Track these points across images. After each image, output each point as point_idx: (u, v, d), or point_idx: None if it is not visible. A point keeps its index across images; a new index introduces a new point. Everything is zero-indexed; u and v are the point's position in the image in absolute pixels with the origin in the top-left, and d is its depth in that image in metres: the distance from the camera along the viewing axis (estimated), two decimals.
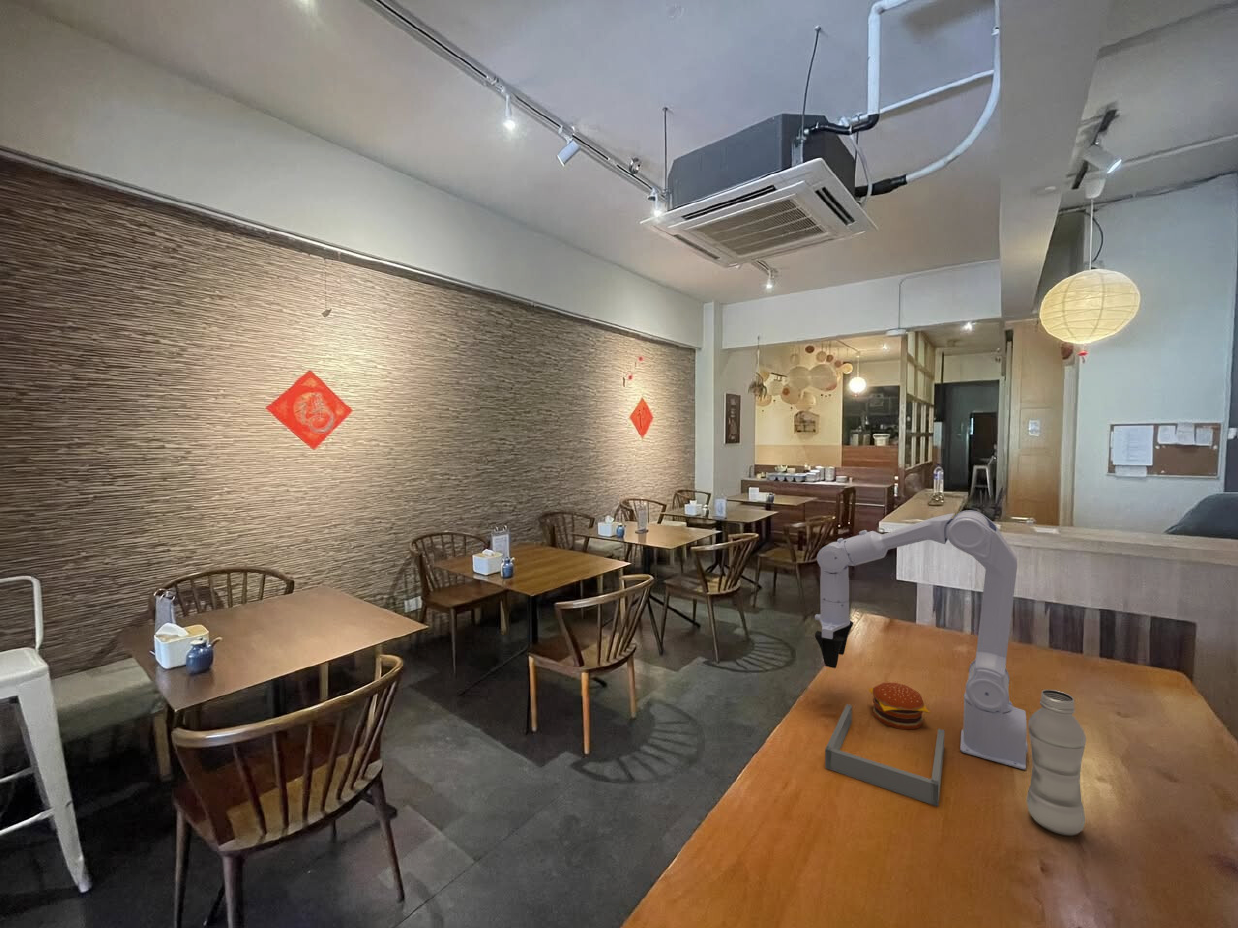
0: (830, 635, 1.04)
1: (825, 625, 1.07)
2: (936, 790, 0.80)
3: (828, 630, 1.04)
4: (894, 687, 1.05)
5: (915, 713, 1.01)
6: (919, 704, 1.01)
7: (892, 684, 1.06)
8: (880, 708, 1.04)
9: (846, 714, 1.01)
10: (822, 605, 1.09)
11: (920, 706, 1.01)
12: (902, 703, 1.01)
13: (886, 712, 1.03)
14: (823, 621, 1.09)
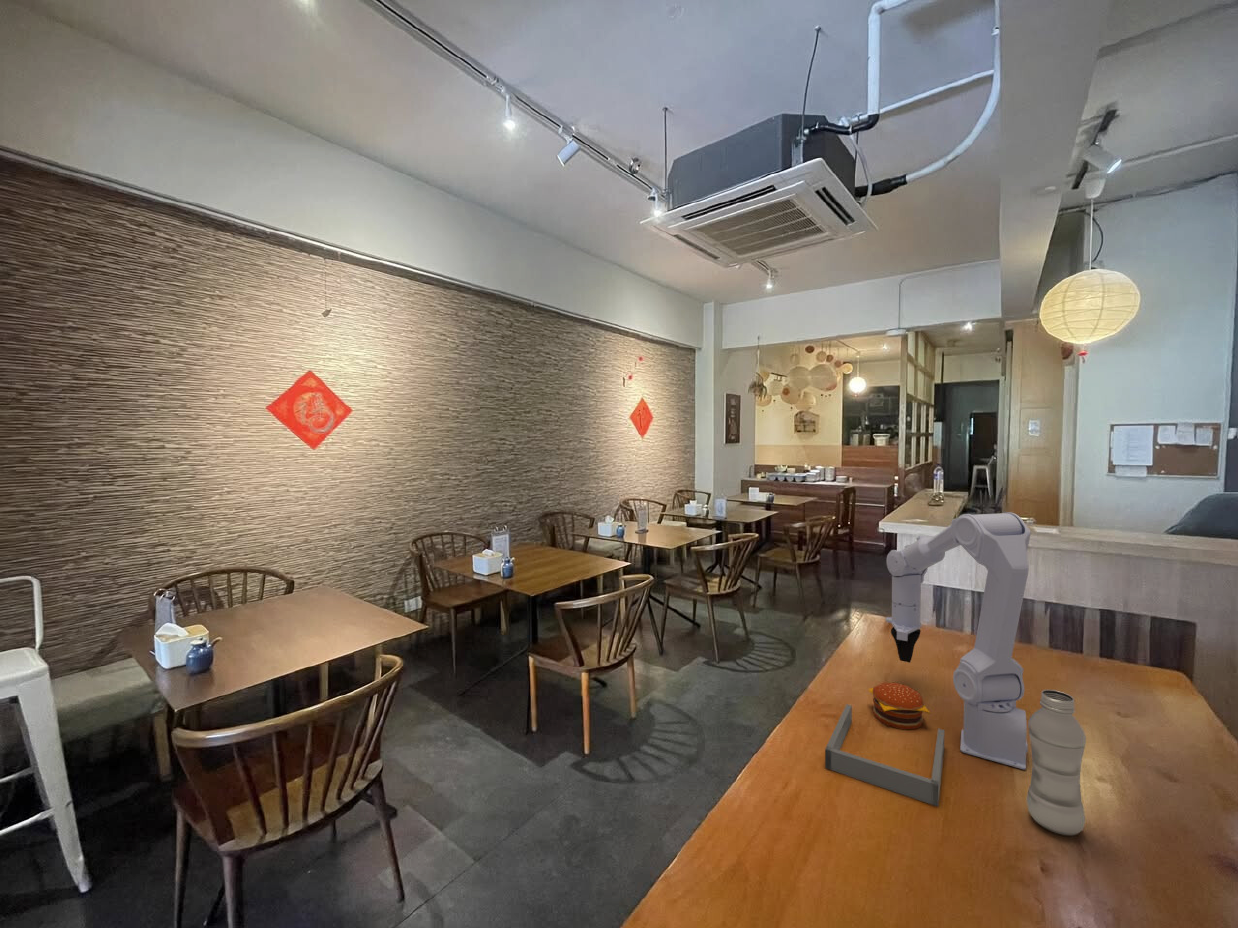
0: (905, 637, 1.10)
1: (899, 628, 1.13)
2: (936, 790, 0.80)
3: (903, 632, 1.10)
4: (894, 687, 1.05)
5: (915, 713, 1.01)
6: (919, 704, 1.01)
7: (892, 684, 1.06)
8: (880, 708, 1.04)
9: (846, 714, 1.01)
10: (894, 609, 1.15)
11: (920, 706, 1.01)
12: (902, 703, 1.01)
13: (886, 712, 1.03)
14: (895, 624, 1.15)
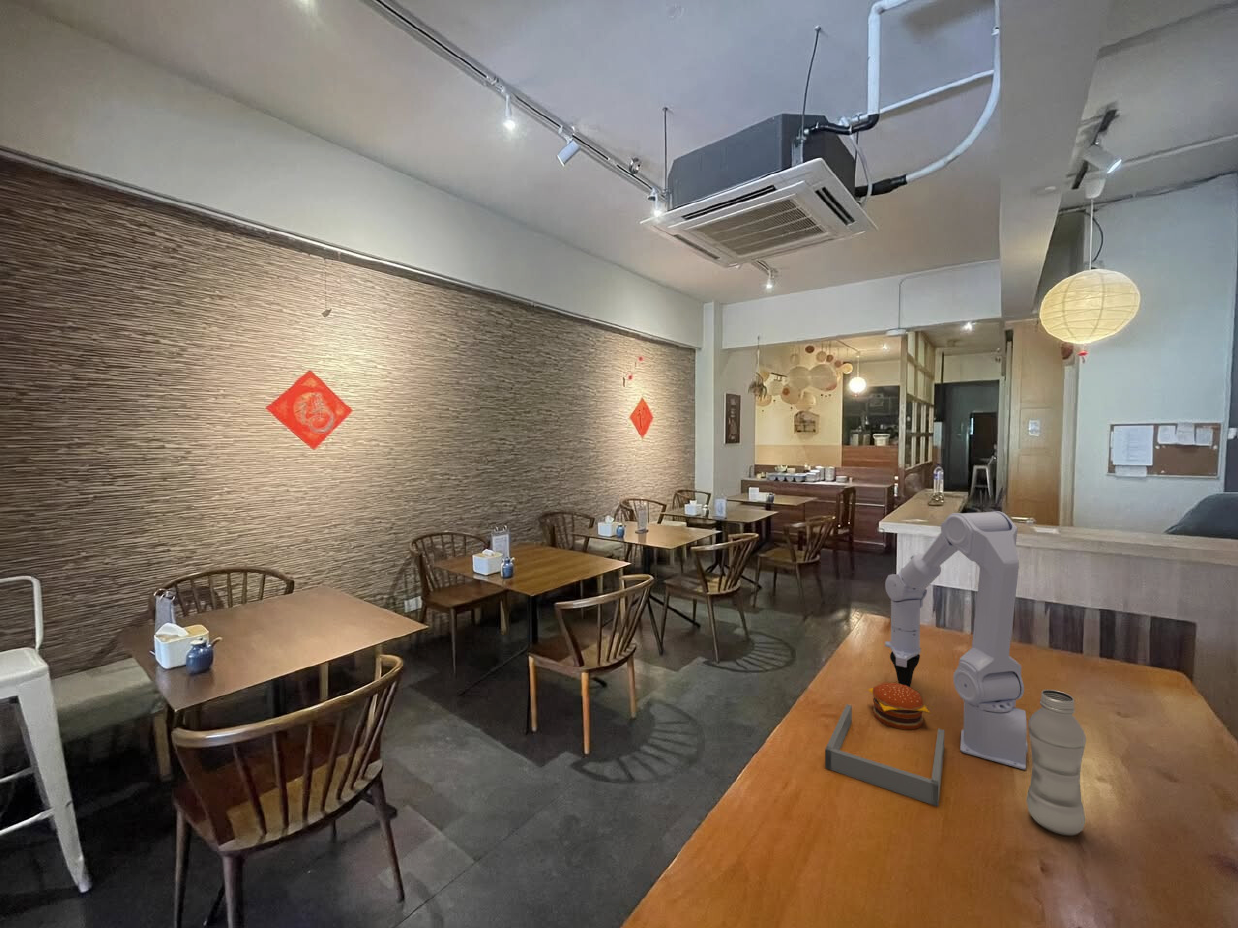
0: (904, 663, 1.09)
1: (898, 653, 1.12)
2: (936, 790, 0.80)
3: (902, 659, 1.09)
4: (894, 687, 1.05)
5: (915, 713, 1.01)
6: (919, 704, 1.01)
7: (892, 684, 1.06)
8: (880, 708, 1.04)
9: (846, 714, 1.01)
10: (893, 633, 1.15)
11: (920, 706, 1.01)
12: (902, 703, 1.01)
13: (886, 712, 1.03)
14: (894, 649, 1.14)
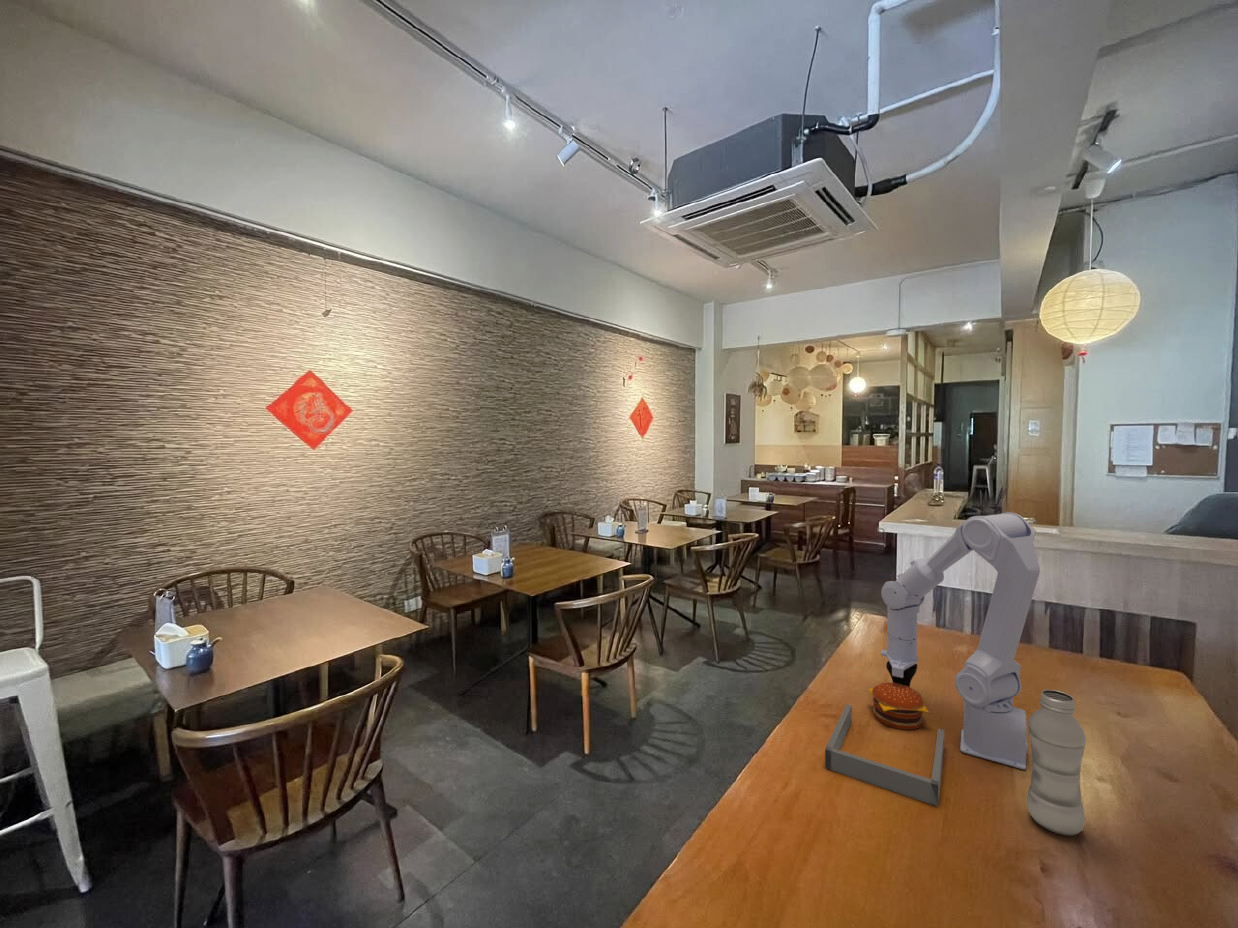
0: (901, 674, 1.04)
1: (894, 663, 1.07)
2: (936, 790, 0.80)
3: (899, 669, 1.04)
4: (894, 687, 1.05)
5: (915, 713, 1.01)
6: (919, 704, 1.01)
7: (892, 684, 1.06)
8: (880, 708, 1.04)
9: (846, 714, 1.01)
10: (890, 642, 1.10)
11: (920, 706, 1.01)
12: (902, 703, 1.01)
13: (886, 712, 1.02)
14: (891, 658, 1.09)
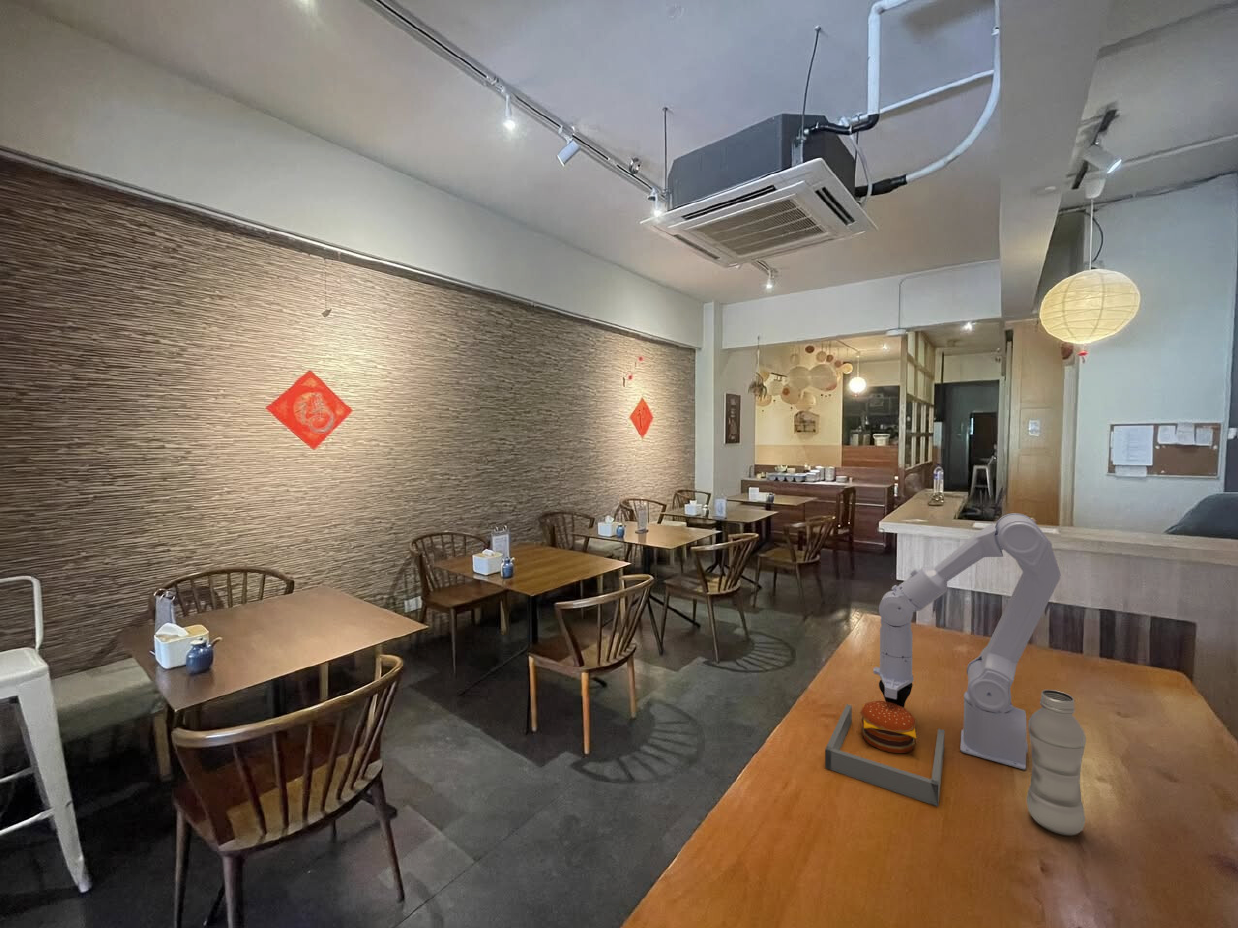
0: (894, 695, 0.96)
1: (887, 682, 0.99)
2: (936, 790, 0.80)
3: (892, 689, 0.96)
4: (884, 706, 0.98)
5: (900, 736, 0.93)
6: (905, 727, 0.93)
7: (884, 703, 0.99)
8: None
9: (846, 714, 1.01)
10: (882, 659, 1.02)
11: (906, 729, 0.93)
12: (884, 723, 0.94)
13: (869, 730, 0.96)
14: (884, 677, 1.01)
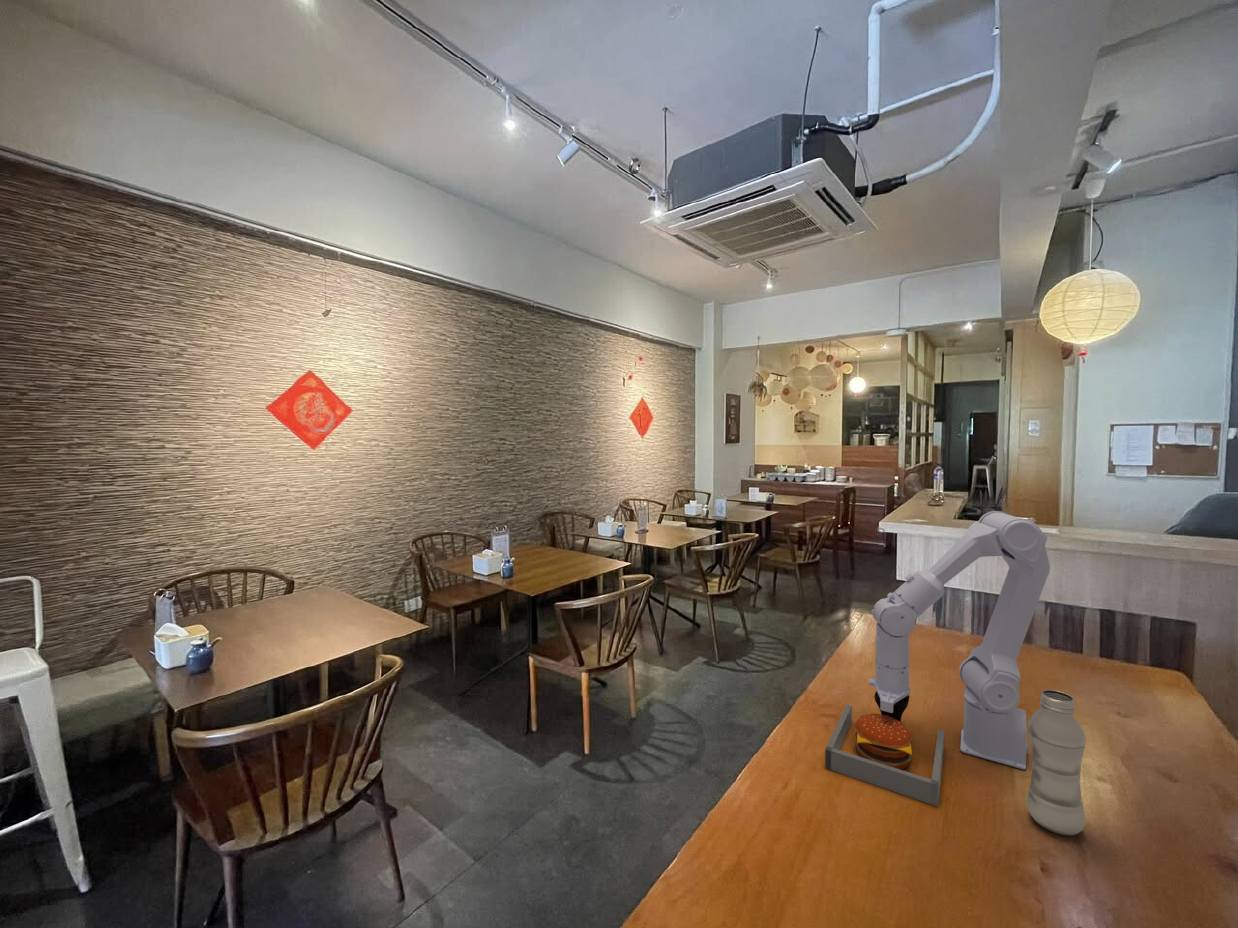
0: (890, 708, 0.91)
1: (883, 695, 0.94)
2: (936, 790, 0.80)
3: (888, 702, 0.91)
4: (879, 719, 0.93)
5: (894, 752, 0.89)
6: (901, 743, 0.89)
7: (879, 716, 0.94)
8: None
9: (846, 714, 1.01)
10: (878, 670, 0.97)
11: (901, 745, 0.89)
12: (878, 738, 0.90)
13: (862, 745, 0.92)
14: (880, 689, 0.96)
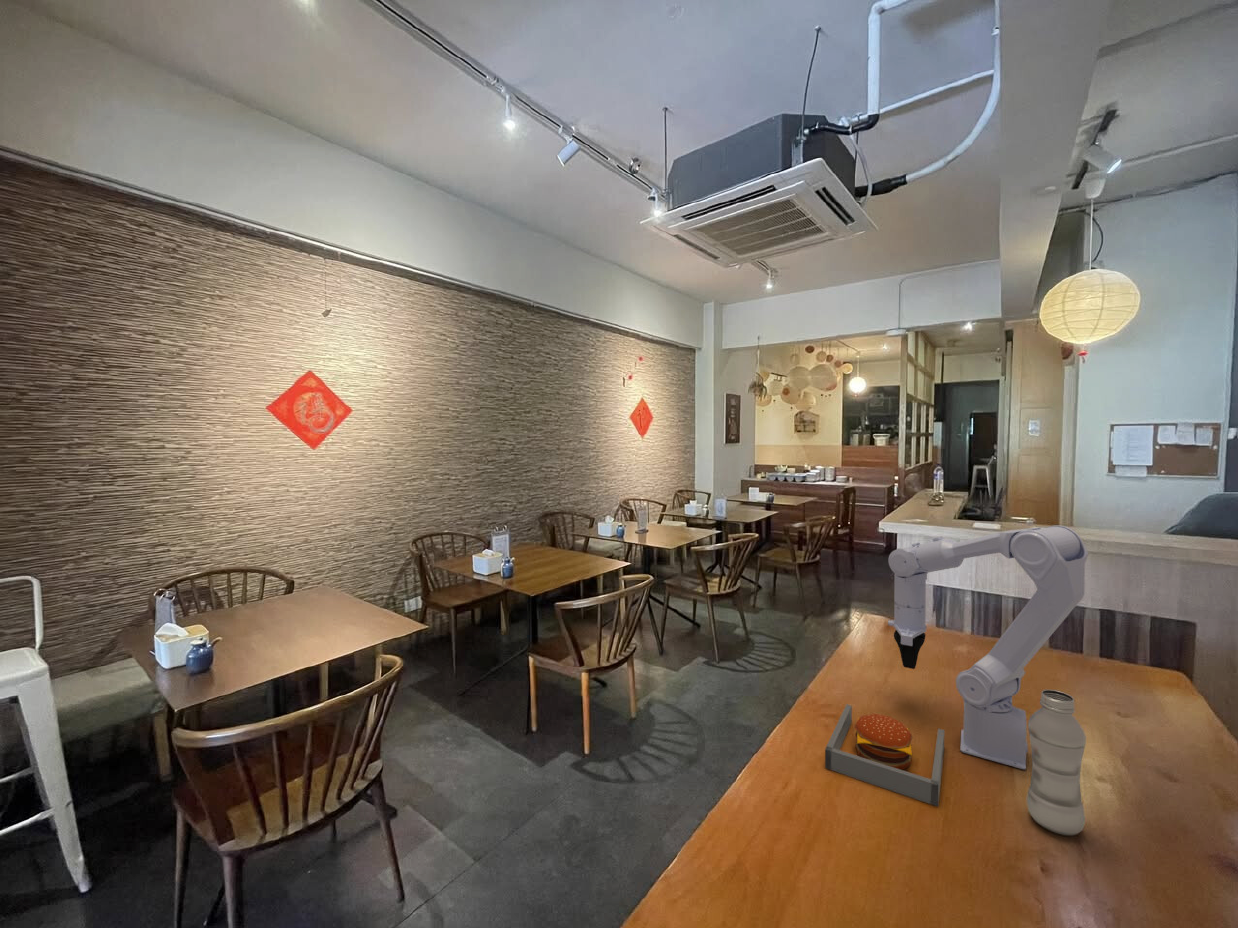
0: (910, 642, 1.01)
1: (903, 631, 1.04)
2: (936, 790, 0.80)
3: (908, 637, 1.01)
4: (879, 720, 0.93)
5: (894, 752, 0.89)
6: (901, 743, 0.89)
7: (879, 716, 0.94)
8: None
9: (846, 714, 1.01)
10: (897, 611, 1.07)
11: (901, 746, 0.89)
12: (878, 738, 0.90)
13: (862, 745, 0.92)
14: (899, 627, 1.06)
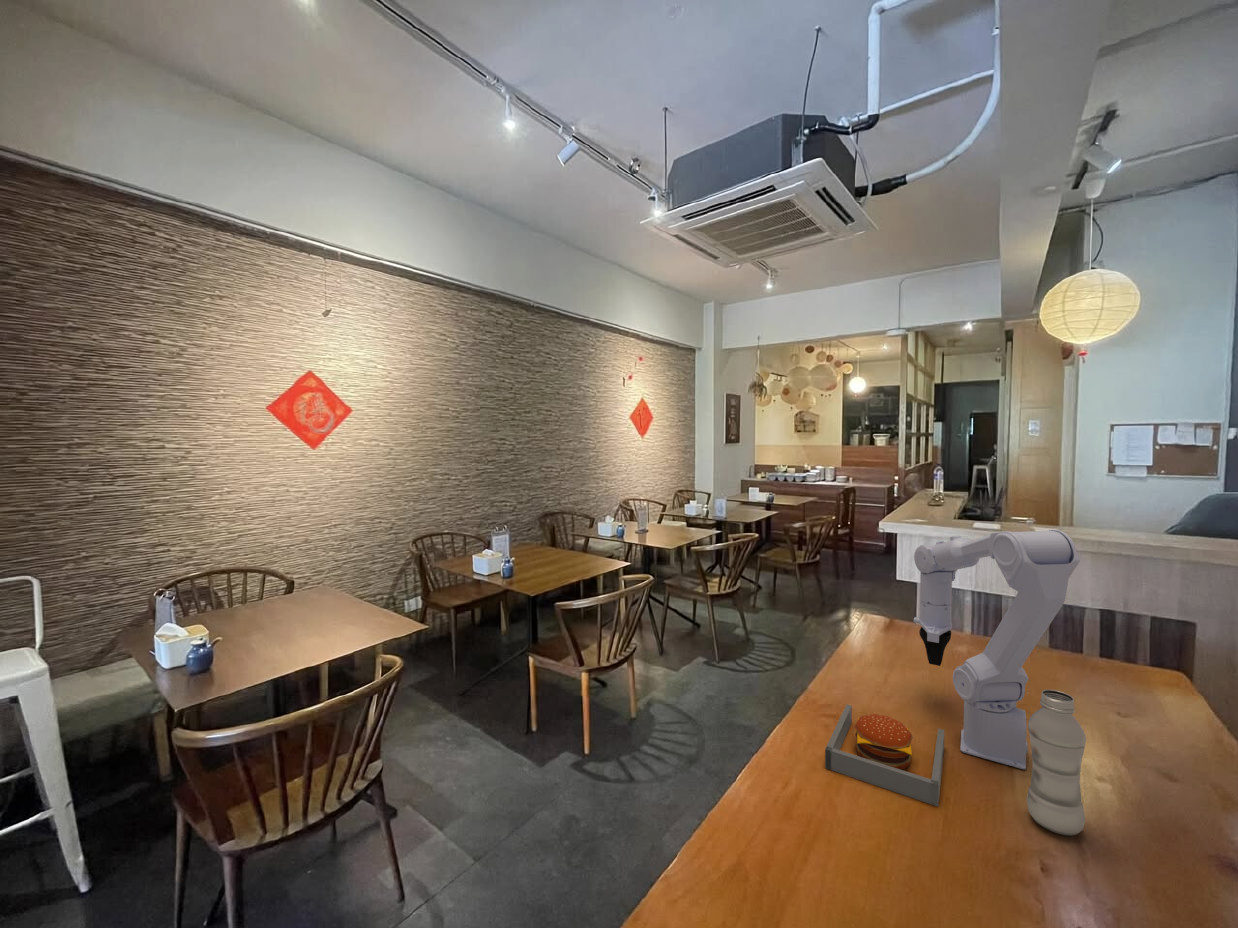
0: (937, 639, 1.02)
1: (929, 628, 1.05)
2: (936, 790, 0.80)
3: (934, 634, 1.02)
4: (879, 720, 0.93)
5: (895, 752, 0.89)
6: (901, 743, 0.89)
7: (879, 716, 0.94)
8: None
9: (846, 714, 1.01)
10: (923, 608, 1.08)
11: (901, 746, 0.89)
12: (878, 738, 0.90)
13: (862, 745, 0.92)
14: (925, 624, 1.07)
